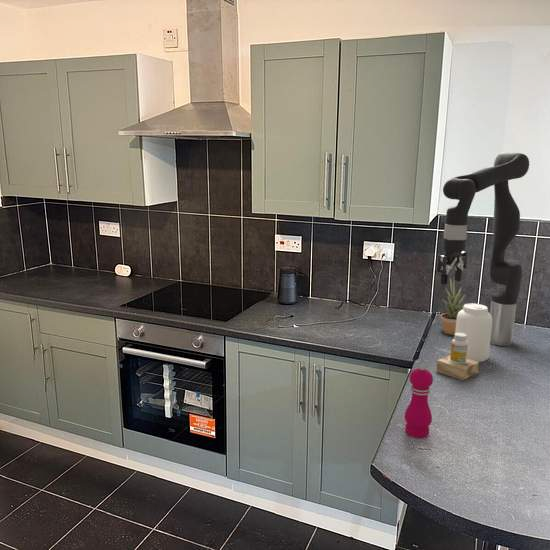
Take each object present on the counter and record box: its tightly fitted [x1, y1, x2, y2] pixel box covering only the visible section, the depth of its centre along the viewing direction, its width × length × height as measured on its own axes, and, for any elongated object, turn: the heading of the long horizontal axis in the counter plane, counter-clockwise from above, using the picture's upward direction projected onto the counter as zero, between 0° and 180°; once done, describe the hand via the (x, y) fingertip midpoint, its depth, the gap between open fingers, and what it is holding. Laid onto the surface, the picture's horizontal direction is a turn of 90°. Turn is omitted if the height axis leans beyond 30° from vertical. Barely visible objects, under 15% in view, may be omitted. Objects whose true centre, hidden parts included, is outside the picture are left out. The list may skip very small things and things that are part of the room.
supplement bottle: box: [449, 333, 468, 363], centre depth 180 cm, size 5×5×10 cm
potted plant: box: [440, 277, 466, 336], centre depth 220 cm, size 10×10×25 cm
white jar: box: [455, 302, 492, 363], centre depth 194 cm, size 12×12×20 cm
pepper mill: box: [404, 363, 434, 439], centre depth 140 cm, size 7×7×20 cm
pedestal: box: [436, 354, 480, 381], centre depth 181 cm, size 10×10×4 cm
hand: (450, 282), depth 184 cm, fingers open, 8 cm apart
